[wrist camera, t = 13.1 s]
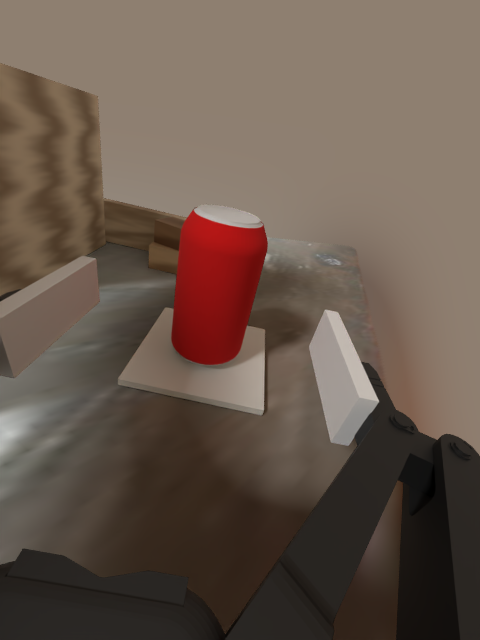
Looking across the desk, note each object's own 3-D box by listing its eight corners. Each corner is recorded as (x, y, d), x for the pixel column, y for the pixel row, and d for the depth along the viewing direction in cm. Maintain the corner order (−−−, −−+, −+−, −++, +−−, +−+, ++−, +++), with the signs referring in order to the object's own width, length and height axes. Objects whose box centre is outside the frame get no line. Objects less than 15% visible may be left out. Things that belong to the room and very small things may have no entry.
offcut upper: (191, 255, 36) (193, 233, 35) (154, 241, 38) (154, 219, 36) (205, 249, 40) (208, 228, 38) (171, 236, 41) (172, 216, 39)
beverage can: (192, 322, 28) (209, 198, 22) (247, 345, 27) (283, 220, 20) (155, 354, 23) (163, 204, 17) (221, 384, 22) (257, 234, 15)
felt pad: (117, 384, 20) (117, 378, 20) (165, 311, 30) (165, 307, 29) (261, 415, 21) (263, 410, 20) (263, 334, 30) (265, 329, 30)
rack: (176, 347, 25) (202, 105, 16) (-23, 303, 25) (-120, 24, 15) (216, 263, 45) (238, 132, 35) (105, 237, 44) (97, 97, 35)
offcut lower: (197, 280, 38) (200, 256, 37) (148, 269, 38) (149, 245, 36) (204, 267, 43) (207, 246, 41) (160, 257, 42) (161, 235, 41)
